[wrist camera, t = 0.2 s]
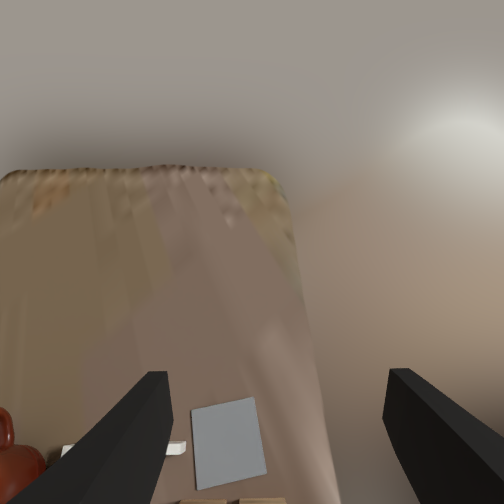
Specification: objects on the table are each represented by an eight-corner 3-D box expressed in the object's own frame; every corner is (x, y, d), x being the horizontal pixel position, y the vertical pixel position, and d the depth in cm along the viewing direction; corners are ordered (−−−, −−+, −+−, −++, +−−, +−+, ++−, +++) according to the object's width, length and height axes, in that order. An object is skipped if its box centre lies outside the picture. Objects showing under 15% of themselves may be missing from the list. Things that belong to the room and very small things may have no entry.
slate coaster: (266, 472, 33) (266, 473, 33) (198, 488, 33) (197, 490, 32) (253, 397, 37) (253, 396, 36) (192, 410, 36) (191, 410, 36)
